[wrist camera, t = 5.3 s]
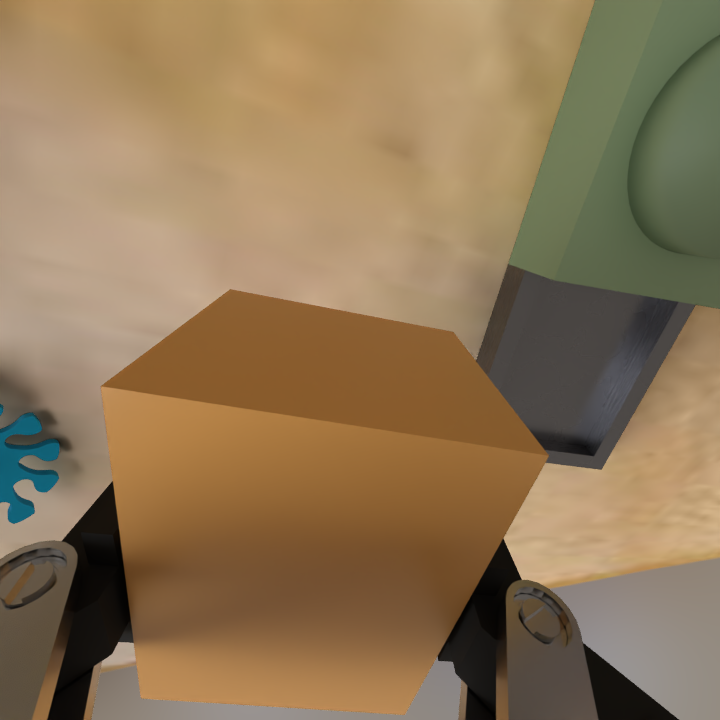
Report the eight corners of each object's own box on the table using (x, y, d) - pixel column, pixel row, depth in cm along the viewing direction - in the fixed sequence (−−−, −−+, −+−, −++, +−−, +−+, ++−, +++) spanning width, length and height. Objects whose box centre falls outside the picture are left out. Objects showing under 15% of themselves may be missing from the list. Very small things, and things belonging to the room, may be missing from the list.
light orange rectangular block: (230, 289, 9) (100, 386, 4) (453, 331, 9) (548, 455, 5) (219, 516, 12) (141, 705, 8) (383, 536, 13) (401, 720, 8)
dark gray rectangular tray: (508, 263, 20) (525, 270, 18) (665, 291, 21) (698, 300, 19) (452, 432, 25) (461, 451, 23) (581, 449, 26) (601, 469, 24)
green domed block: (598, -10, 15) (775, -168, 9) (797, 39, 16) (1092, -74, 10) (508, 263, 20) (580, 289, 14) (665, 291, 21) (803, 327, 14)
